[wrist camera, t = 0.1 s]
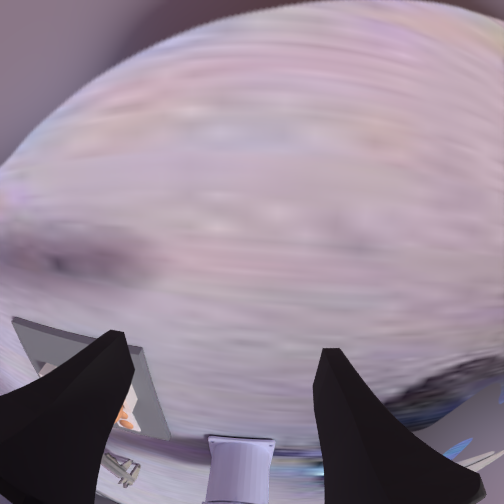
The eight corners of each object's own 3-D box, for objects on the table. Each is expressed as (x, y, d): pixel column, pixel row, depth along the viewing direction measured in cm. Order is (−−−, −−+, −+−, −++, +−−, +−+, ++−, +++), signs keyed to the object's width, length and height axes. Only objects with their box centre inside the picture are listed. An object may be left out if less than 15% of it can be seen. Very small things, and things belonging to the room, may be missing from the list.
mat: (171, 435, 29) (169, 441, 28) (61, 402, 30) (58, 407, 29) (142, 347, 23) (138, 354, 22) (15, 316, 23) (11, 321, 22)
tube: (137, 399, 25) (131, 413, 23) (104, 390, 25) (97, 403, 23) (127, 373, 23) (120, 387, 21) (92, 364, 23) (83, 377, 21)
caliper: (141, 463, 36) (133, 491, 30) (138, 464, 36) (130, 491, 30) (44, 397, 30) (28, 424, 25) (43, 398, 31) (27, 425, 25)
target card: (140, 429, 28) (139, 433, 27) (120, 424, 28) (118, 427, 27) (130, 408, 26) (128, 411, 25) (107, 402, 26) (106, 405, 25)
